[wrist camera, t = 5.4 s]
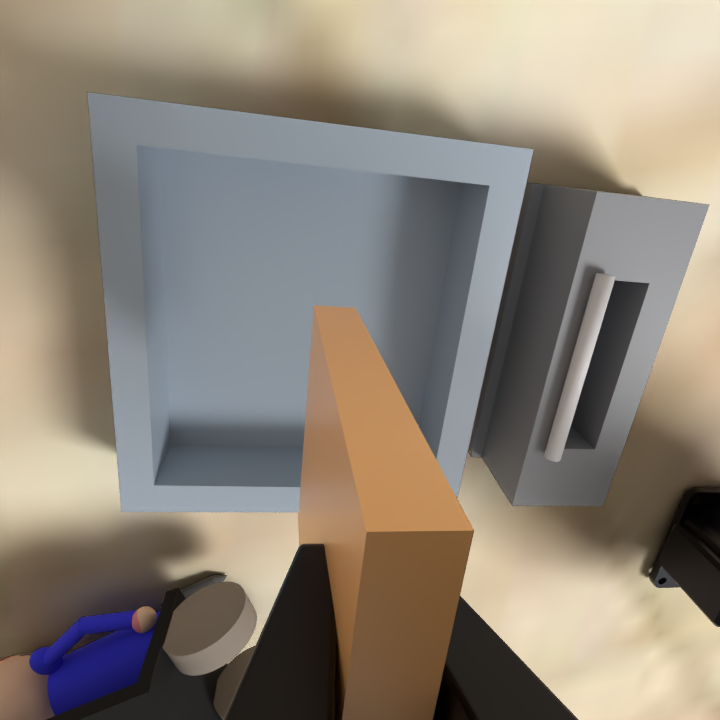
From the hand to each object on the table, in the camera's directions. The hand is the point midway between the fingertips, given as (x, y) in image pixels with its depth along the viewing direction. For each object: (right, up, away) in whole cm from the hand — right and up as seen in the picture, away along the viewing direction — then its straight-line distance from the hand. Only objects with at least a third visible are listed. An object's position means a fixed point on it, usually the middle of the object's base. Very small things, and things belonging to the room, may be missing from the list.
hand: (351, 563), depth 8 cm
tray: (-2, +5, +12) cm, 13 cm away
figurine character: (-11, -10, +17) cm, 23 cm away
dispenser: (+8, +4, +14) cm, 17 cm away
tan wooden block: (-1, +2, +5) cm, 5 cm away
